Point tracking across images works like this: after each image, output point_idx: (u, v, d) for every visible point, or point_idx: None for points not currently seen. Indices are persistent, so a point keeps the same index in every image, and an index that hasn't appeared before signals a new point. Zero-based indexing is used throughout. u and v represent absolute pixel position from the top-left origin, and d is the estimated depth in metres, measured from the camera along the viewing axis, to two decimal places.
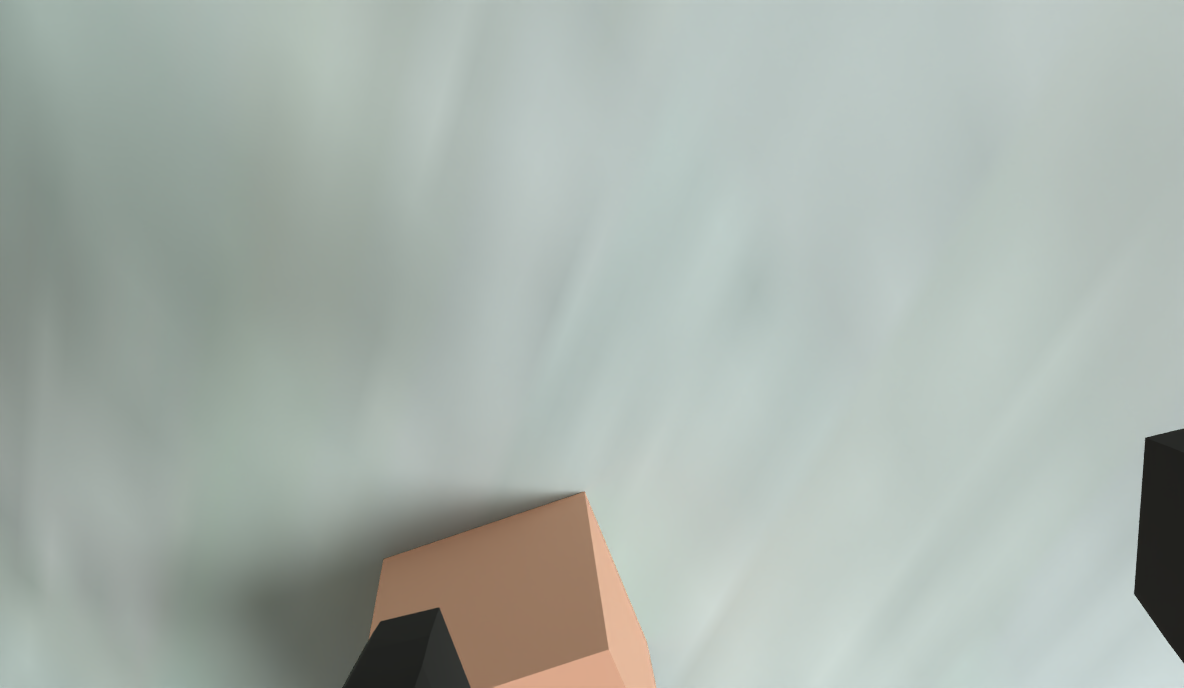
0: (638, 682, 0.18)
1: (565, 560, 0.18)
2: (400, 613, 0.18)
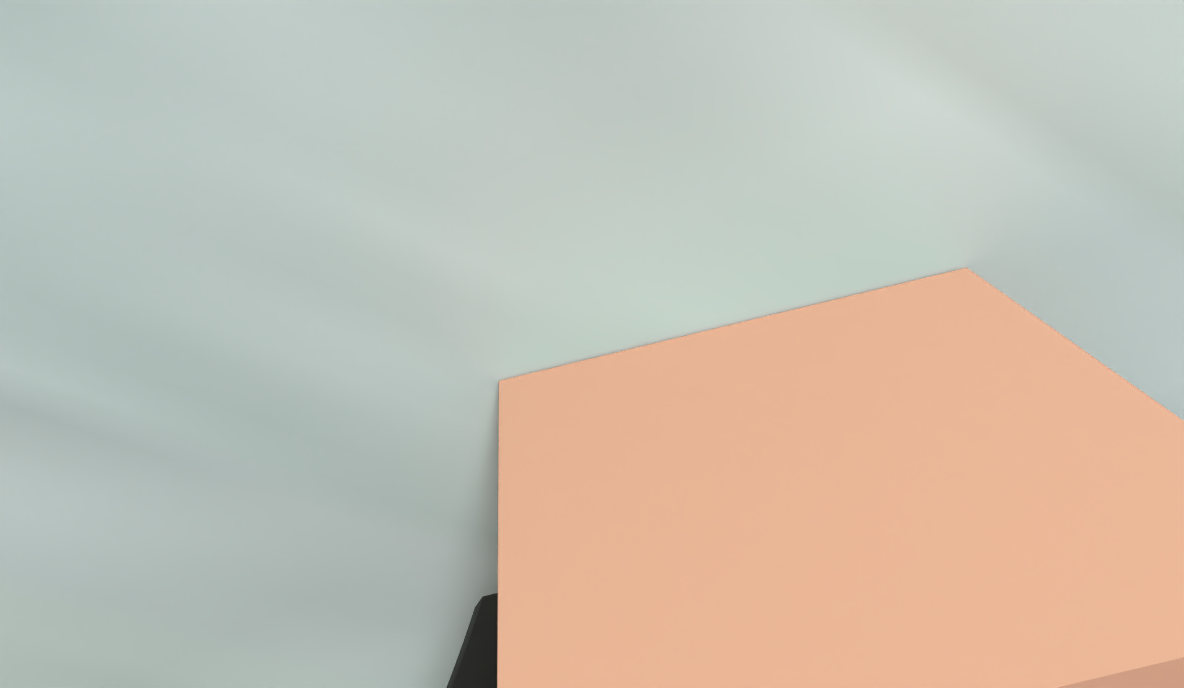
0: (863, 539, 0.06)
1: None
2: None
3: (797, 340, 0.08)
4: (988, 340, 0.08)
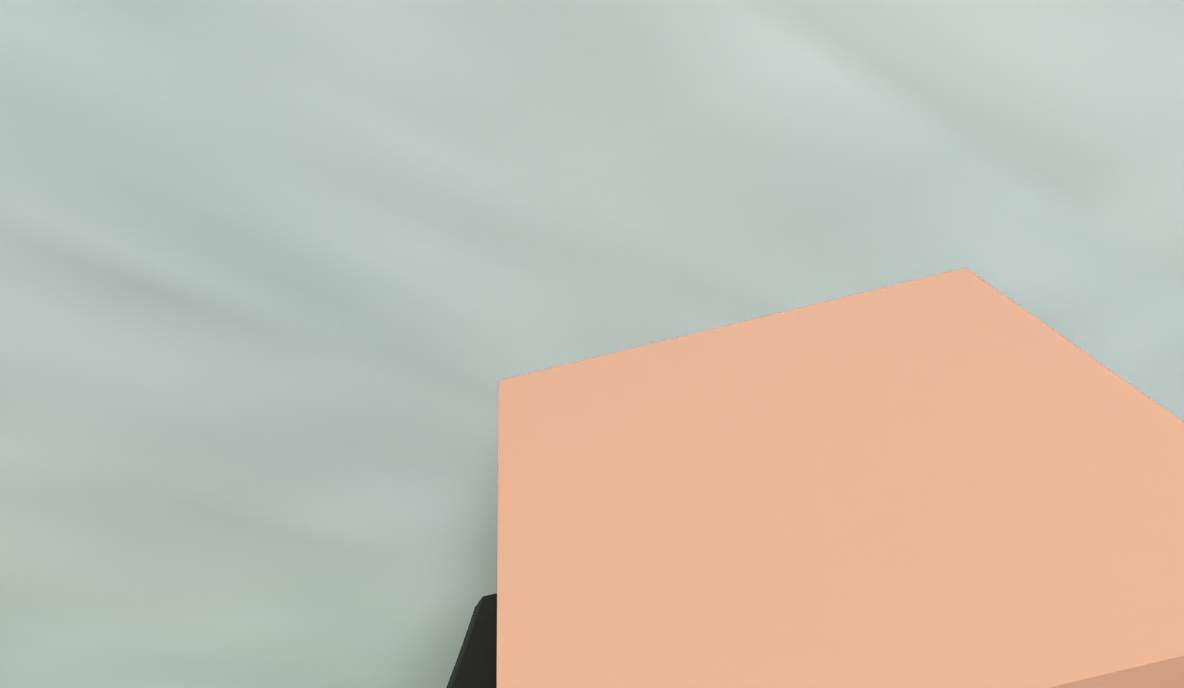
0: (861, 538, 0.06)
1: None
2: None
3: (796, 340, 0.08)
4: (987, 340, 0.08)
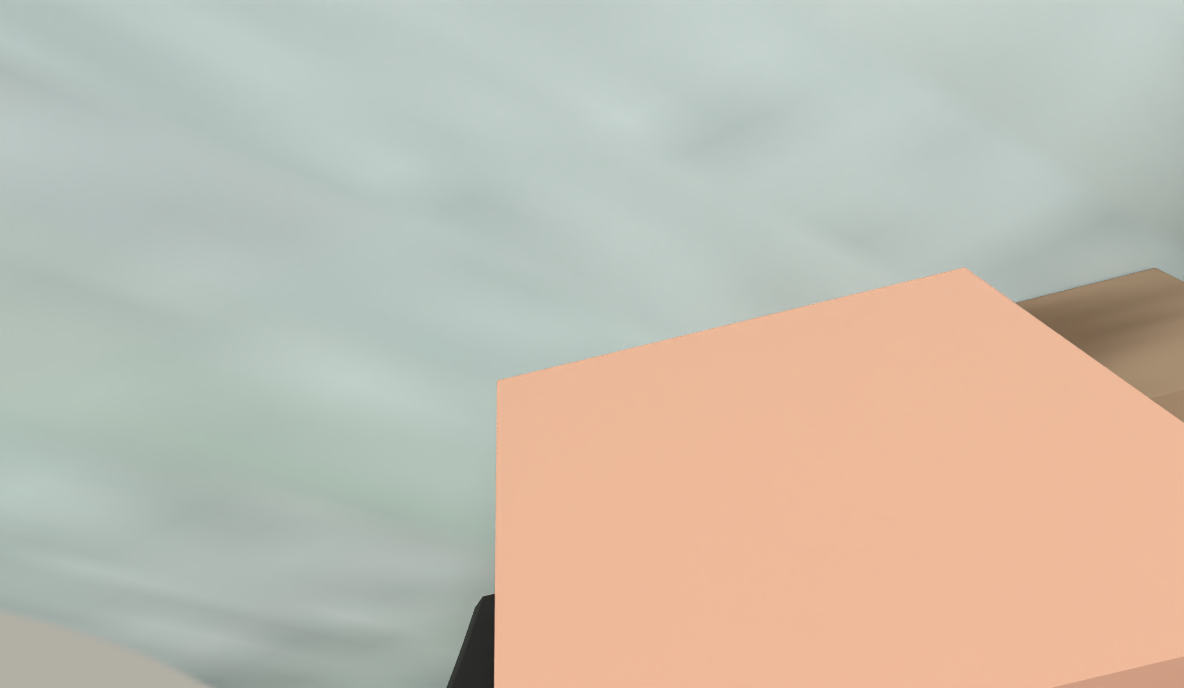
0: (859, 538, 0.06)
1: None
2: None
3: (795, 340, 0.08)
4: (986, 340, 0.08)
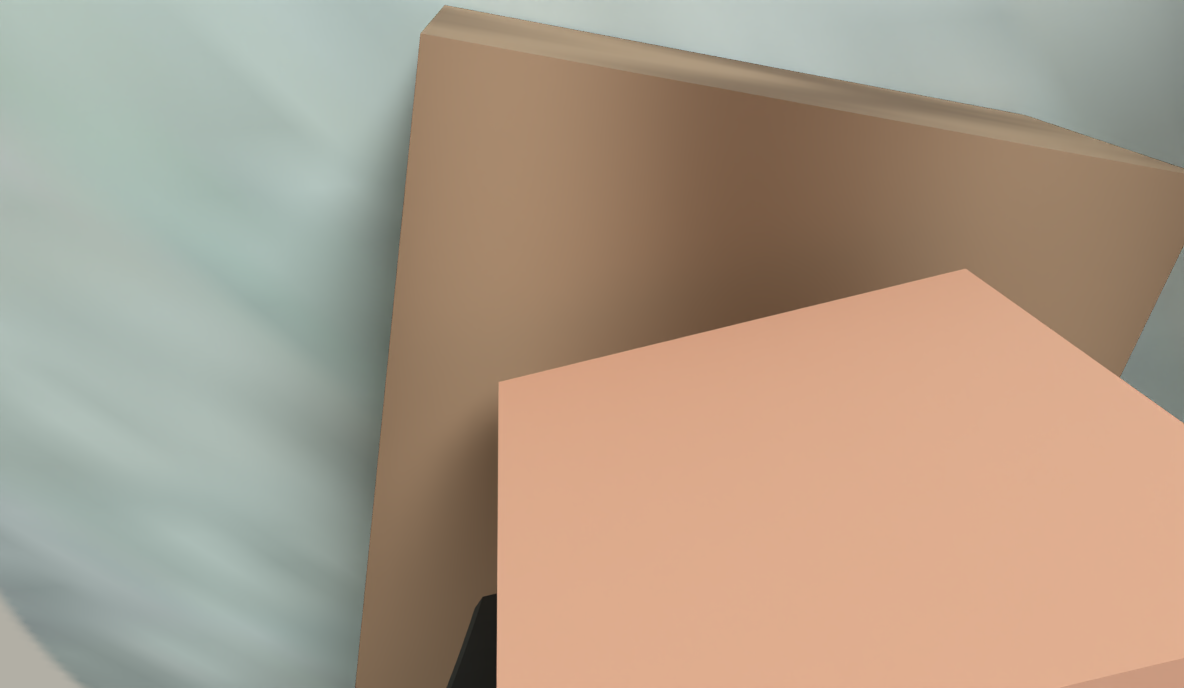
0: (861, 540, 0.06)
1: None
2: None
3: (796, 341, 0.08)
4: (987, 341, 0.08)
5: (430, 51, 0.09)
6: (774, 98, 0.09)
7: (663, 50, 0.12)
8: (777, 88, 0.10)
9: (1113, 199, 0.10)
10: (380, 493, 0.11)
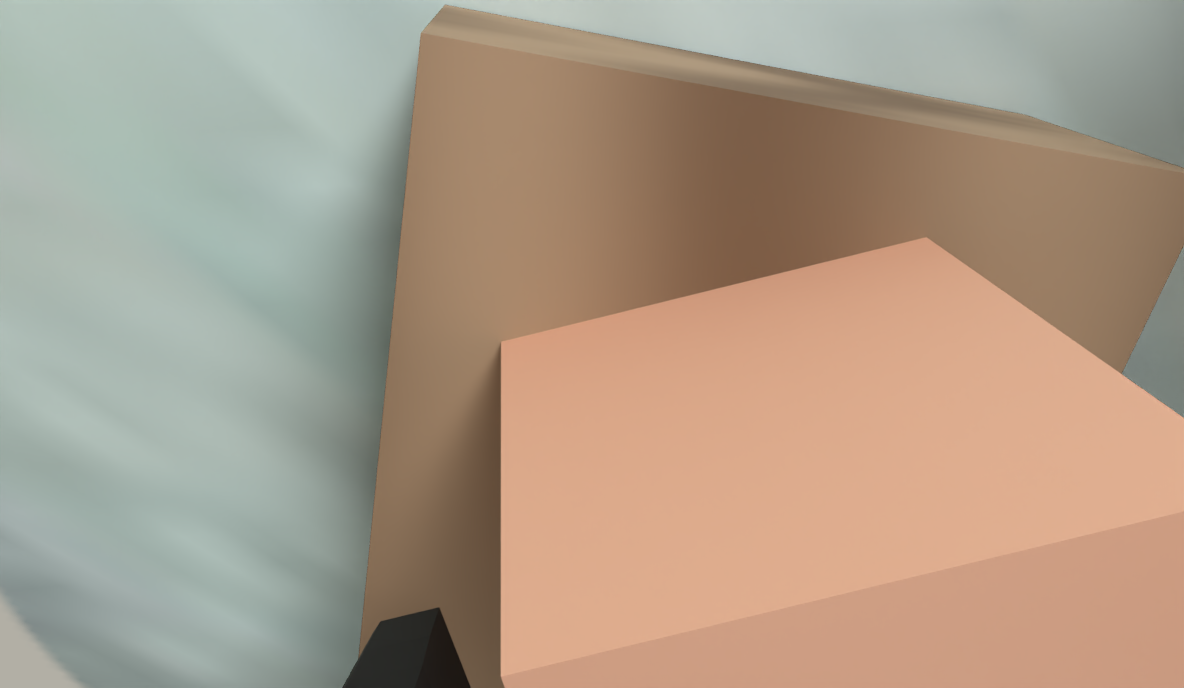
0: (817, 458, 0.07)
1: None
2: None
3: (771, 301, 0.09)
4: (939, 297, 0.09)
5: (430, 50, 0.09)
6: (774, 98, 0.09)
7: (663, 50, 0.12)
8: (777, 88, 0.10)
9: (1113, 199, 0.10)
10: (380, 492, 0.11)
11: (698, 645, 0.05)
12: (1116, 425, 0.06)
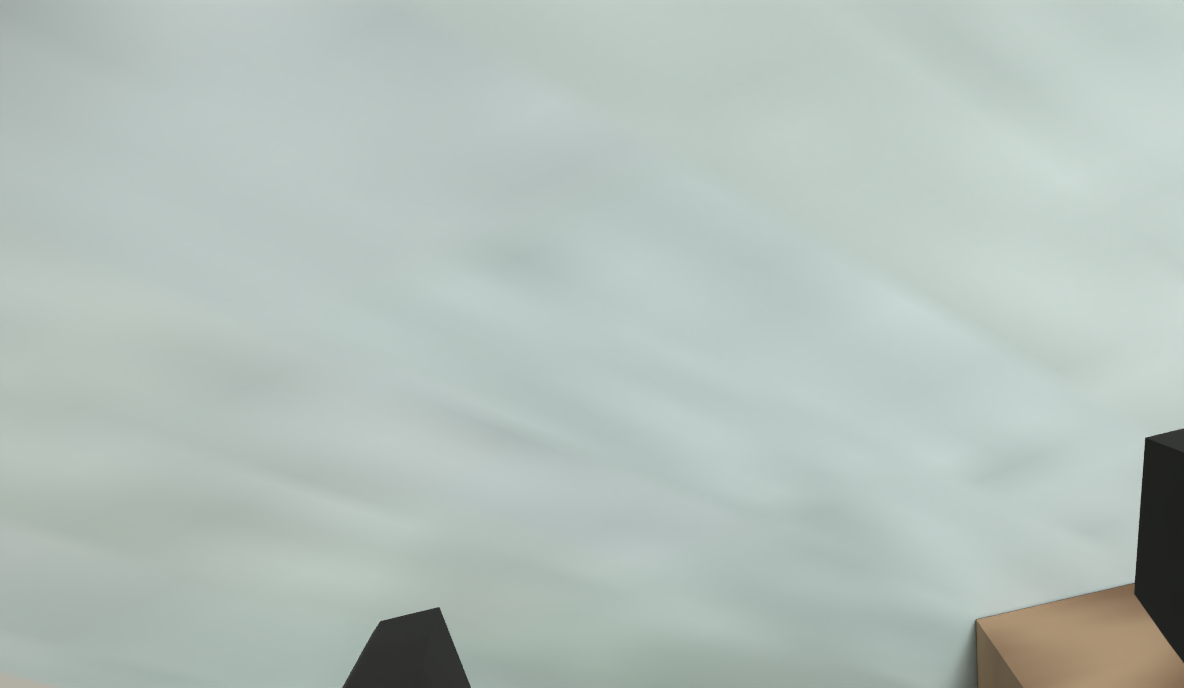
0: None
1: None
2: None
3: None
4: None
5: None
6: None
7: (1100, 610, 0.23)
8: None
9: None
10: None
11: None
12: None
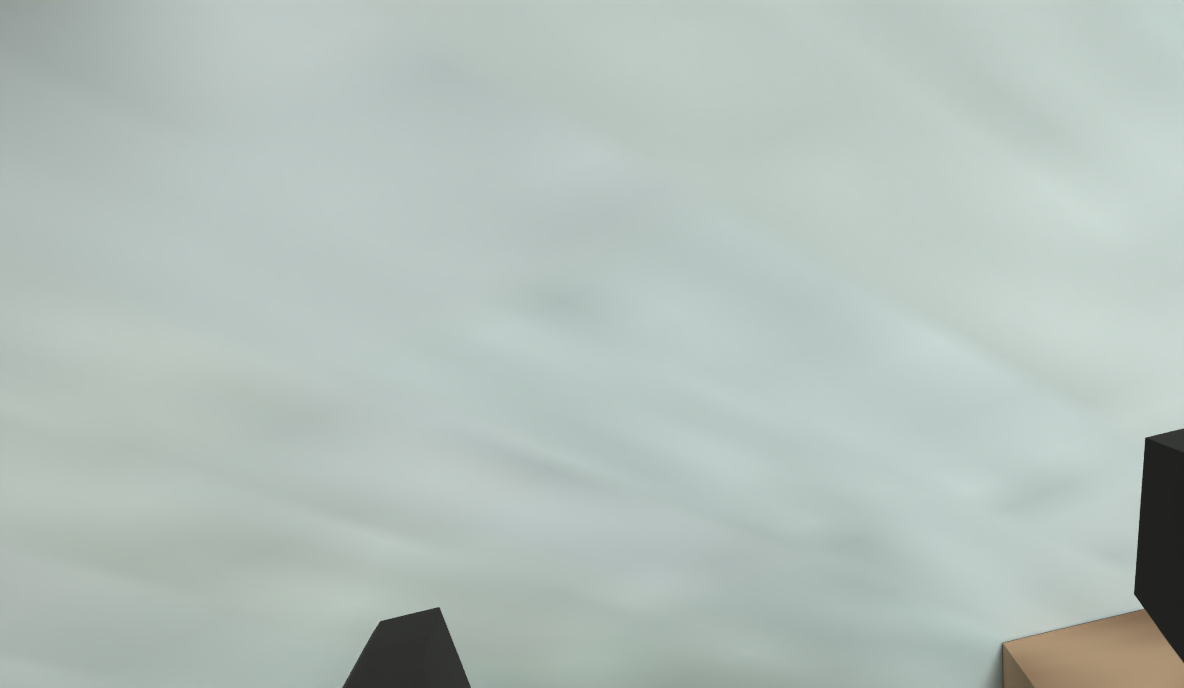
0: None
1: None
2: None
3: None
4: None
5: None
6: None
7: (1125, 633, 0.23)
8: None
9: None
10: None
11: None
12: None
